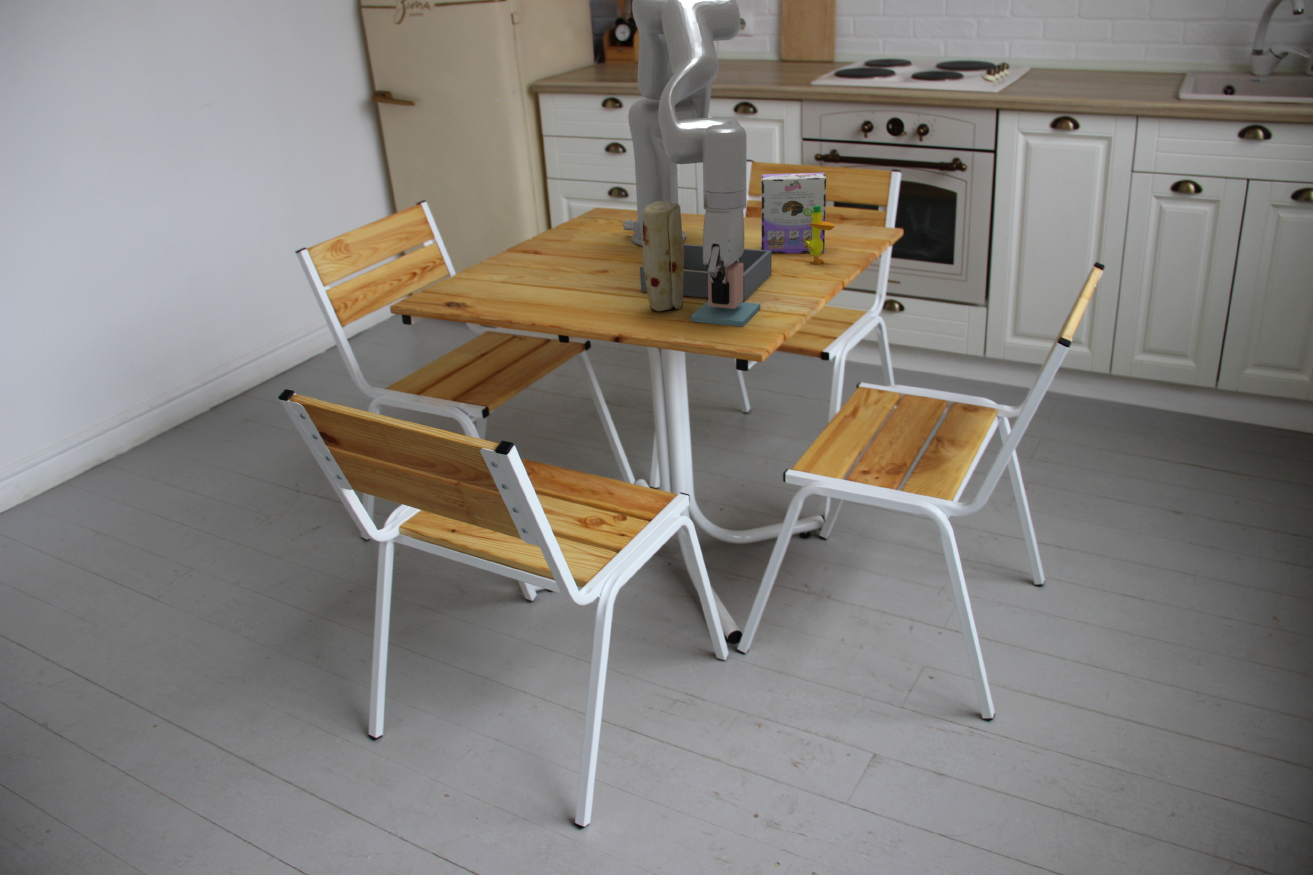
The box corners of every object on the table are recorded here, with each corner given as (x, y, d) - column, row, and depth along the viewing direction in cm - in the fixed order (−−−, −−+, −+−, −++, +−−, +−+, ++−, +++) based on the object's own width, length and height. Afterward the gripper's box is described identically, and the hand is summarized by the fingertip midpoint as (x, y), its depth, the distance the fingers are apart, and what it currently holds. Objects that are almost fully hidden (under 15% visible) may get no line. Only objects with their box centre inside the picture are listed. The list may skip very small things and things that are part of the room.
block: (708, 306, 177) (707, 269, 174) (717, 297, 181) (717, 261, 178) (734, 308, 175) (734, 271, 172) (743, 300, 179) (743, 263, 176)
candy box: (822, 246, 217) (825, 171, 210) (824, 253, 212) (827, 177, 204) (760, 247, 218) (761, 173, 211) (760, 254, 213) (761, 178, 206)
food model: (664, 297, 189) (660, 195, 180) (694, 302, 186) (691, 198, 177) (636, 313, 182) (631, 206, 173) (667, 318, 179) (663, 210, 170)
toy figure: (836, 263, 205) (839, 206, 199) (827, 267, 202) (829, 210, 197) (809, 258, 209) (811, 202, 203) (800, 262, 206) (801, 206, 201)
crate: (640, 291, 194) (639, 267, 191) (674, 266, 208) (673, 243, 206) (744, 301, 186) (744, 276, 183) (771, 274, 200) (771, 250, 198)
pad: (690, 321, 177) (690, 316, 177) (709, 303, 185) (709, 298, 185) (743, 326, 173) (743, 321, 173) (760, 308, 181) (760, 303, 181)
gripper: (721, 187, 178) (722, 283, 186) (687, 209, 164) (689, 311, 172) (760, 189, 175) (759, 286, 183) (729, 212, 161) (729, 316, 170)
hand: (725, 297), depth 178 cm, fingers closed on block, 4 cm apart
